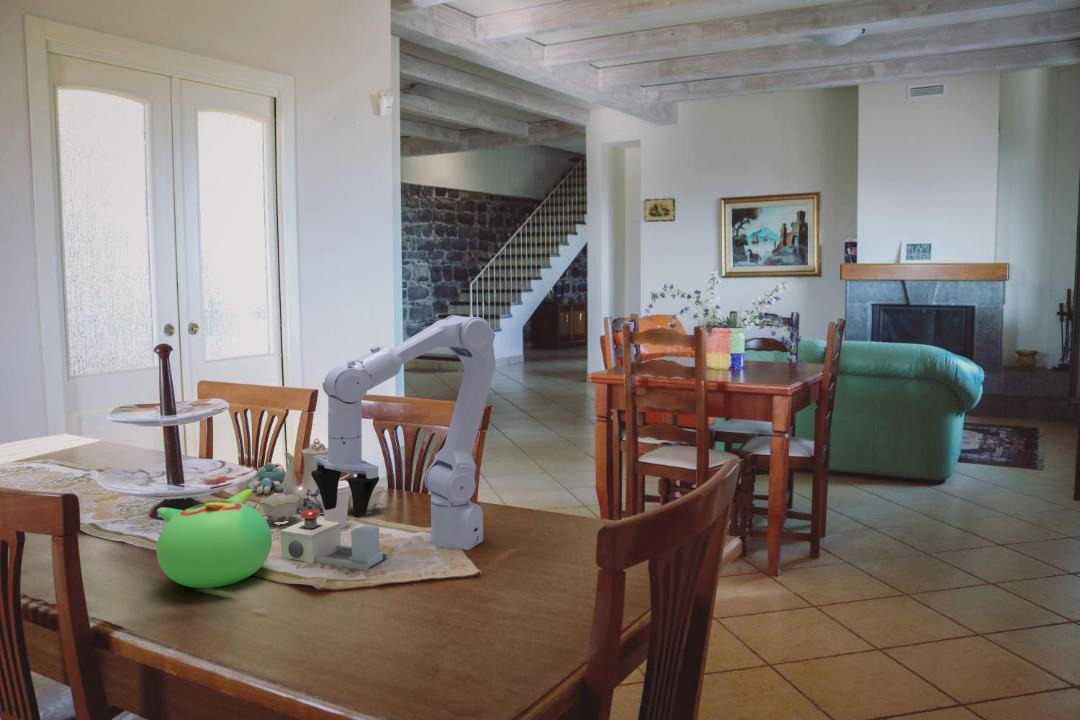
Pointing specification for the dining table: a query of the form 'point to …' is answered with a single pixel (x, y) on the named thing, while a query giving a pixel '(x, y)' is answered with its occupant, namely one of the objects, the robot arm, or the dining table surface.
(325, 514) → the smoothie
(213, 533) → the green rounded blob
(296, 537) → the end cabinet
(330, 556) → the rail
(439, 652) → the dining table surface
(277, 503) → the chinaware
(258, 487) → the stuffed animal
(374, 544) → the carriage
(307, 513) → the red push button
